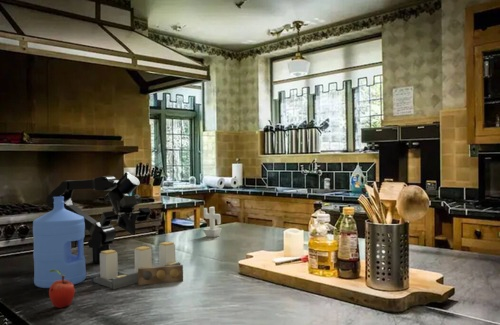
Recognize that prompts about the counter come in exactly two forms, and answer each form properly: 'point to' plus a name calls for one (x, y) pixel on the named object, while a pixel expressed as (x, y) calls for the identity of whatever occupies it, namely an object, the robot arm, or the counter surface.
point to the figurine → (212, 222)
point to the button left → (108, 264)
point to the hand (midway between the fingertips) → (134, 234)
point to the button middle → (143, 257)
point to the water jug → (58, 246)
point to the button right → (166, 253)
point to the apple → (61, 292)
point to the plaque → (160, 274)
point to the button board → (124, 278)
